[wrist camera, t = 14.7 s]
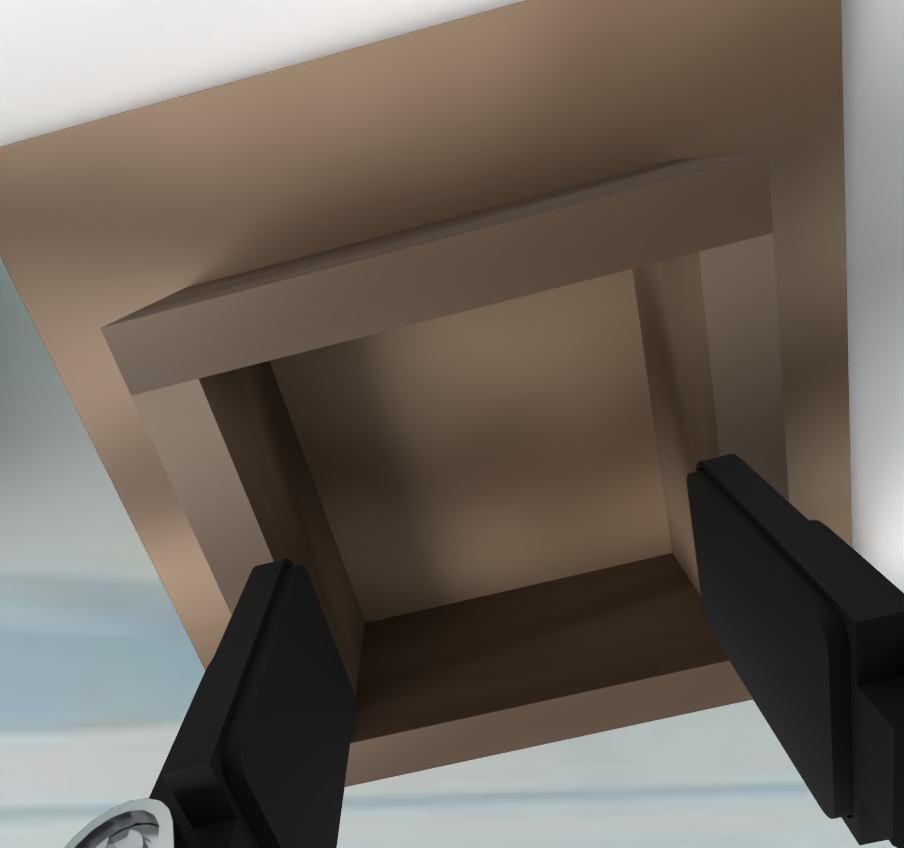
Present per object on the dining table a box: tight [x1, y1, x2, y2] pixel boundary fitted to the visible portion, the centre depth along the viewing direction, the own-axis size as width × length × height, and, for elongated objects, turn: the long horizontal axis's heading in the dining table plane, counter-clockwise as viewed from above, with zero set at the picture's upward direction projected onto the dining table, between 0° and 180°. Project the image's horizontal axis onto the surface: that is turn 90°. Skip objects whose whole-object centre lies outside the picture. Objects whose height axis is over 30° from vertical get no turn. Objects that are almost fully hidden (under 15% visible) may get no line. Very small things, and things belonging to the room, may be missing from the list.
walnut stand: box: [0, 0, 852, 787], centre depth 14 cm, size 18×18×5 cm
